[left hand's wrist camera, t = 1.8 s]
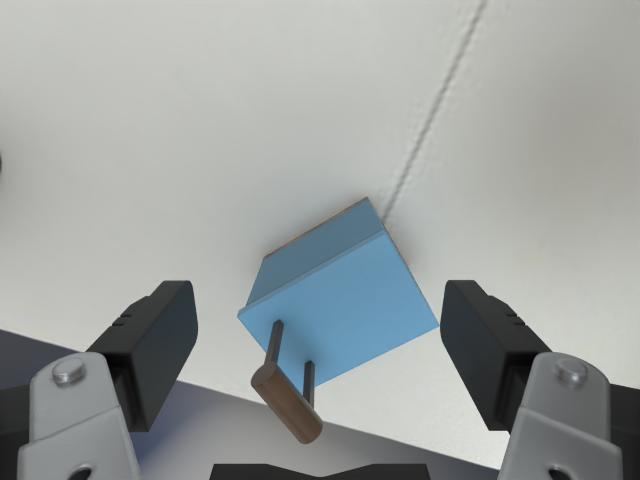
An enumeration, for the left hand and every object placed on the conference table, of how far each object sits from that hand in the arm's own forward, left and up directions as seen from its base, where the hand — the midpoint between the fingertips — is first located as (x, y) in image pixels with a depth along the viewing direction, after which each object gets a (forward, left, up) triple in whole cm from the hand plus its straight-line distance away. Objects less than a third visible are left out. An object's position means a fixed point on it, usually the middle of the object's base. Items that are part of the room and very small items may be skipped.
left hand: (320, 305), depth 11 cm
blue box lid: (-3, -11, -17) cm, 20 cm away
